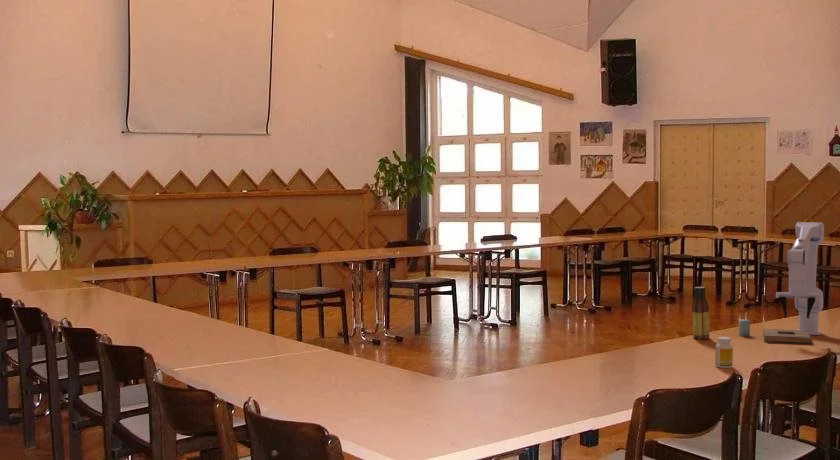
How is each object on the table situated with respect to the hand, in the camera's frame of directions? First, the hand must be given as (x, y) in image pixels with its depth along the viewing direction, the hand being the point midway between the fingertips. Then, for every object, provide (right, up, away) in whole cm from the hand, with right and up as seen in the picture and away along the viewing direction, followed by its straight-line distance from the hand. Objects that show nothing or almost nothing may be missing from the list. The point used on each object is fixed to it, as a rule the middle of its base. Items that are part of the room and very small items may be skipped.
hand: (796, 317), depth 343 cm
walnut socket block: (0, -9, +9) cm, 13 cm away
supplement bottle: (-40, -13, -39) cm, 57 cm away
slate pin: (-13, -9, +18) cm, 24 cm away
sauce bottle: (-32, -9, +13) cm, 36 cm away
